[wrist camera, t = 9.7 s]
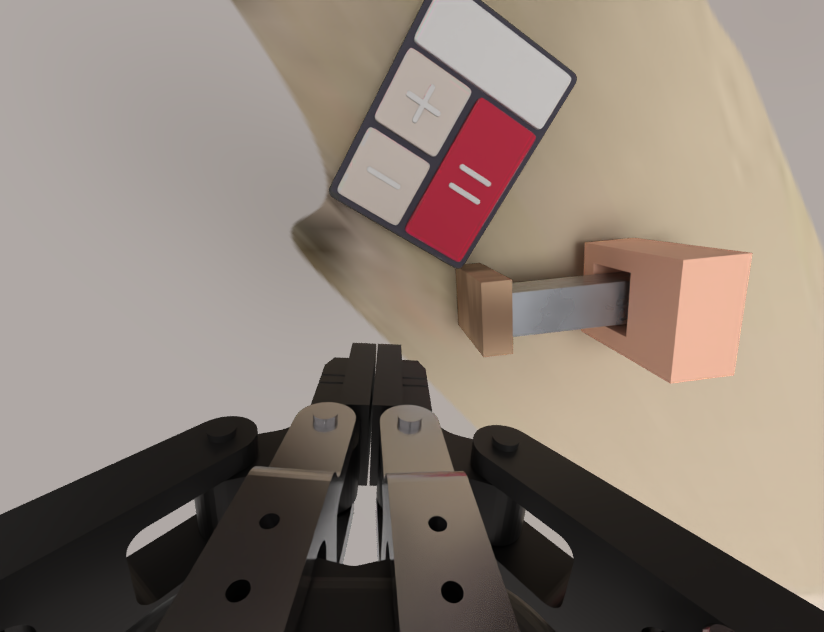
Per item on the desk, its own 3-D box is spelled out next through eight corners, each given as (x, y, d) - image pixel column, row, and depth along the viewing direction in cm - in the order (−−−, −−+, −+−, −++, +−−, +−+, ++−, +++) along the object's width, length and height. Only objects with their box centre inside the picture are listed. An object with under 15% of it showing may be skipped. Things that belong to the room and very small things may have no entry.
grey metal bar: (481, 283, 29) (495, 293, 26) (688, 262, 30) (726, 269, 27) (482, 327, 30) (496, 341, 27) (683, 304, 31) (719, 315, 28)
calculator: (324, 194, 27) (442, -40, 23) (331, 192, 31) (432, -7, 28) (462, 273, 29) (586, 73, 26) (451, 262, 33) (557, 88, 30)
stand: (455, 265, 32) (481, 282, 25) (665, 244, 34) (745, 255, 27) (458, 324, 34) (483, 357, 27) (660, 302, 35) (735, 327, 28)
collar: (584, 242, 31) (683, 260, 22) (633, 237, 32) (752, 252, 22) (581, 331, 33) (670, 383, 24) (627, 325, 34) (734, 375, 24)
